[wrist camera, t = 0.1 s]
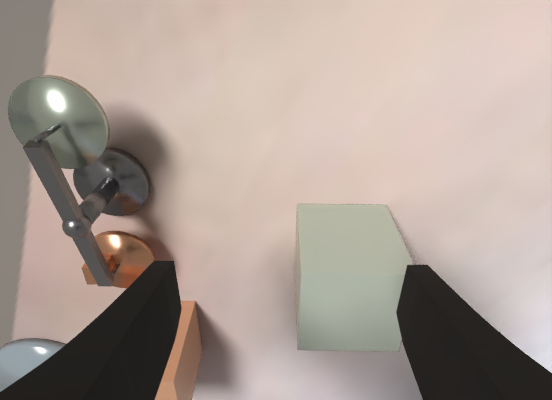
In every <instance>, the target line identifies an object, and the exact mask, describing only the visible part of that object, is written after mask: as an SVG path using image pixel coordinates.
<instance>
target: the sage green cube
mask: <svg viewBox="0 0 552 400" xmlns="http://www.w3.org/2000/svg"><path fill="white" fill-rule="evenodd" d="M407 265H414V263H413V261H412V259H411V257H410V255H409V253H408V250H407V248H406V246H405V244H404V242H403V239H402V237H401V235H400V233H399V231H398V228H397V226H396V224H395V222H394V220H393V218H392V215H391V213H390V211H389V209H388V207H387V205H371V204H297V220H296V247H295V296H296V322H297V349H298V350H326V351H385V352H399V349H400V345H401V341H402V337H401V333H400V328H399V324H398V319H397V314H396V311H397V306H398V302H399V298H400V294H401V289H402V285H403V281H404V276H405V272H406V268H407Z"/></svg>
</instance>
